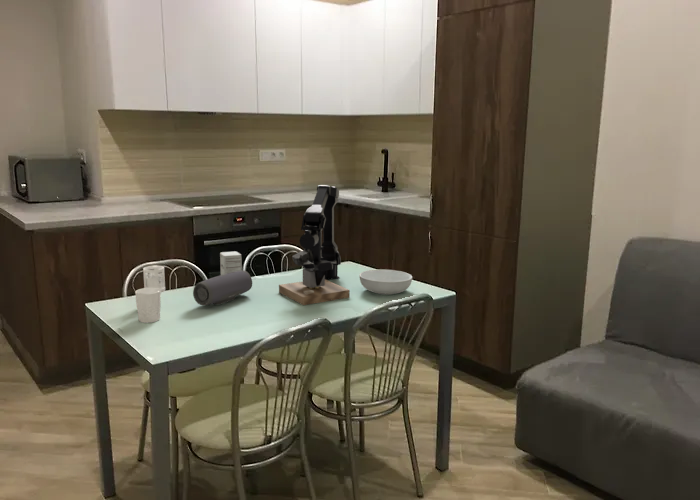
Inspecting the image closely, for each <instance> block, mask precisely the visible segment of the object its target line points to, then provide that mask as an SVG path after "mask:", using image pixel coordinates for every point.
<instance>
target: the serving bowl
mask: <svg viewBox="0 0 700 500" xmlns="http://www.w3.org/2000/svg"><path fill="white" fill-rule="evenodd" d="M359 281H360V283H361V285H362V286H363V288H364V289H365V290H368V291H369V292H372V293H375V294H378V295H382V296H383V295H385V296H387V295H388V296H389V295H395V294H399V293H403V292H405V291H407V290H408V289H409V288H410V286H411V284H412V281H413V276H412V274H410V273H407V272H405V271H401V270H395V269H382V268H381V269H369V270H368V269H367V270H365V271H362V272H360V273H359Z"/></svg>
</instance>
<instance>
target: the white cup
mask: <svg viewBox="0 0 700 500" xmlns="http://www.w3.org/2000/svg"><path fill="white" fill-rule="evenodd" d="M134 293H135V302H136V308H137V310H136V311H137V316H138V317H137V318H138V321H139V322H140V323H145V324H148V323H155V322H158V321H159V320H161V308H162V307H161V298H162V297H161V294H162V292H161V290H160V289H158V288H144V287H143V288H139V289H137V290H135V292H134Z"/></svg>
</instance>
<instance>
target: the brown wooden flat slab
mask: <svg viewBox="0 0 700 500" xmlns="http://www.w3.org/2000/svg"><path fill="white" fill-rule="evenodd" d="M350 292H351V291H350V289H349V288H346V287H344V286H342V285H339V284H337V283H334V282H332V281H330V280H326V279H325V286H319V289H313V288H312V290H311V289H309V287H307V286H305V285H303V280H302V281H297V282H290V283H289V282H288V283H282V284H278V293H280V294H282V295H283V296H285V297H287V298H289V299H290V300H293V301H295V302H297V303H298V304H300V305H302V306H306V305H313V304H318V303H323V302H324V303H325V302H330V301H338V300H343V299H348V298H350Z"/></svg>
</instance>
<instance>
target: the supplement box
mask: <svg viewBox="0 0 700 500" xmlns="http://www.w3.org/2000/svg"><path fill="white" fill-rule="evenodd" d="M219 257H220V258H219V259H220V260H219V262H220V275H223V274H227V273H231V272H236V271H243V265H242V261H243V260H242V254H241V253H240V252H238V251H235V250H234V251H222V252H220V253H219Z"/></svg>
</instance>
